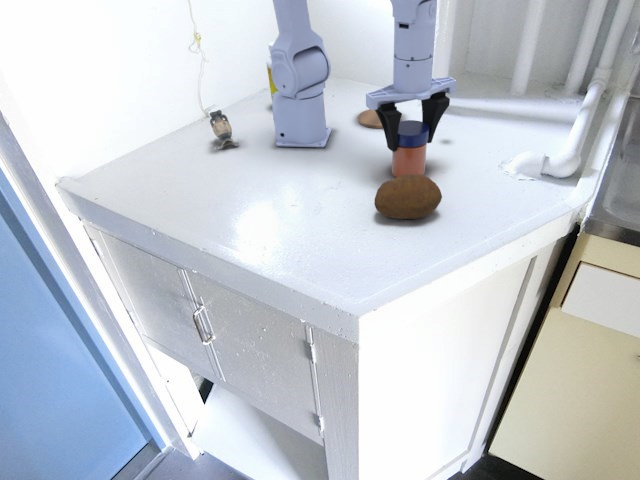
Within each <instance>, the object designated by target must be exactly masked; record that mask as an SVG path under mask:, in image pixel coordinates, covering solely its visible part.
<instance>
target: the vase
mask: <svg viewBox="0 0 640 480" xmlns="http://www.w3.org/2000/svg"><path fill="white" fill-rule="evenodd" d="M209 116H210V119H209V123H210V126H211V128H212V131H213V133H214V135H215V137H216V138H217V139H219V140H220V141H222V142H221V143H222V144H221V145H216V146H214V145H213V146H214V147H213V148H212V149H213V151H214V152H216V150H223V149H224V147H226V146H228V145H233V146H236V147H238V146H239V145H240V144H241V143H240V141H239V140H238V139H235V140H234V139H233V138H232V135H233V130H232V126H231V124H230V122H229V119H228V117H227V115H226V114H223V112H222V109H218V110H216V111H210V112H209Z"/></svg>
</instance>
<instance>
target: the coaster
mask: <svg viewBox="0 0 640 480" xmlns="http://www.w3.org/2000/svg"><path fill="white" fill-rule="evenodd" d="M402 119H403V117H402V115H401V119H400V121H402ZM357 122H358V123H359V124H360V125H361V126H363V127H365V128H370V129H383V127H382V124H381V122H380V119H379V117H378V115H377V113H376V111H375V110H370V109H366V110H364V111H362V112H360V113H359V114H358V115H357Z"/></svg>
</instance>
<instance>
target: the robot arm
mask: <svg viewBox="0 0 640 480" xmlns="http://www.w3.org/2000/svg"><path fill="white" fill-rule="evenodd" d="M389 1H390V4H391V7H392V18H393V20H394V21H393V22H394V23H393V66H392V67H393V68H392V69H393V71H392V83H391V84H390V85H387V86H384V87H382V88H379V89H377V90H374V91H370V92H366V93H365V106H366V108H368V110H375V111H376V113H377V115H378V117H379V119H380V122H381V124H382V127H383V128H382V130H383V133H384V136H385V141H386V146H387V149H388V150H390V151H391V153H392V152H395V151H397V147H398V129H399V123H400V119H401V116H402V115H403V113H402V112H401V111H399V110H398V107H397V106H396V104H401V103H405V102H410V101H415V100H417V101H420V102H421V116H422V118H421V119H422V120H421V122H424V123H426V124H427V125H428V126H429V139H428V142H427V144H431V143H432V142H433V138H434V135H435V133H436V130H437V127H438V125H439V123H440V121H441V119H442V117H443V116H444V114H445V112H446V110H447V109H448V107H449V106H450V103H451V99H450V97H448V96H447V94H448V95H452V94H456V89H457V79H455V78H453V77H451V76H444V77H436V78H435V77H434V78H433V64H434V51H435V40H436V39H435V38H436V25H437V24H436V23H437V11H438V10H437V9H438V0H389ZM272 5H273V10H274V14H275V20H276V24H277V25H276V26H277V29H278V36H277V37H276V39H275V40H274V41H275V42H274V44H273V46H272V48H271V50H270V51H269V54H270V56H271V60H272V66H271V76H272V80H273V83H274V85H275V87H276V88H277V90H278V91H276V92H275V93H274V95H273V100H272V99H271V111H272V117H273V124H274V131H275V138H276V142H275V143H276V146H277V147H288V148H289V147H291V148H292V147H293V148H294V147H296V148H298V147H299V148H325V147H326V145H327V144H328V140H329V138H330V136H331V133H332V131H333V130H332V128H331V127H327V121H326V108H325V95H324V89H325V88H326V82H327V80H329V78H330V76H331V73H332V72H331V71H332V68H331V61H330V58H329V56H328V54H327V51H326V49H325V45H324V39H323V38H322V36H321V35H320V34H318V33H317V32H315V31H314V30H313V28H312V26H311V19H310V15H309V14H310V13H309V8H308V1H307V0H272ZM401 120H402V119H401Z"/></svg>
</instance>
